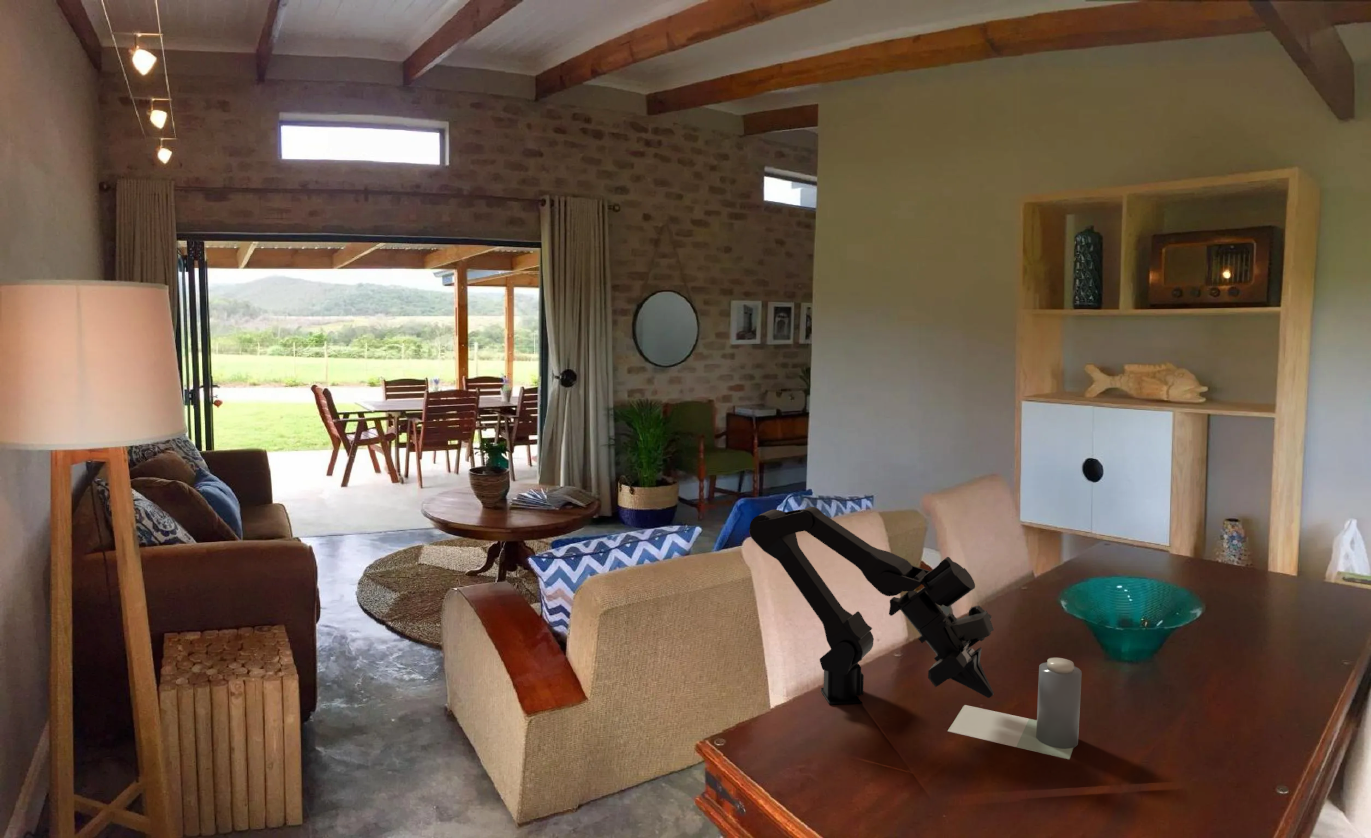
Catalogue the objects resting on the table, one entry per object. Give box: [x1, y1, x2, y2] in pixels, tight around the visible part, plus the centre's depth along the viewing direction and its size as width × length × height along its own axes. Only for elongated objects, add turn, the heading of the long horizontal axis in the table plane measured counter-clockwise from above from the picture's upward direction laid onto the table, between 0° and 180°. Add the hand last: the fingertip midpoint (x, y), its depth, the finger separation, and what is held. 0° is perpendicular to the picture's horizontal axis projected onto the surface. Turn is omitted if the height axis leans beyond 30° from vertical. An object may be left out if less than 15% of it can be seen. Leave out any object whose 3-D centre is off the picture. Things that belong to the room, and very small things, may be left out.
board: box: [947, 704, 1074, 760], centre depth 149 cm, size 19×12×1 cm, turn 59°
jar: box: [1036, 657, 1083, 749], centre depth 145 cm, size 6×6×13 cm
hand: (991, 695), depth 150 cm, fingers closed
